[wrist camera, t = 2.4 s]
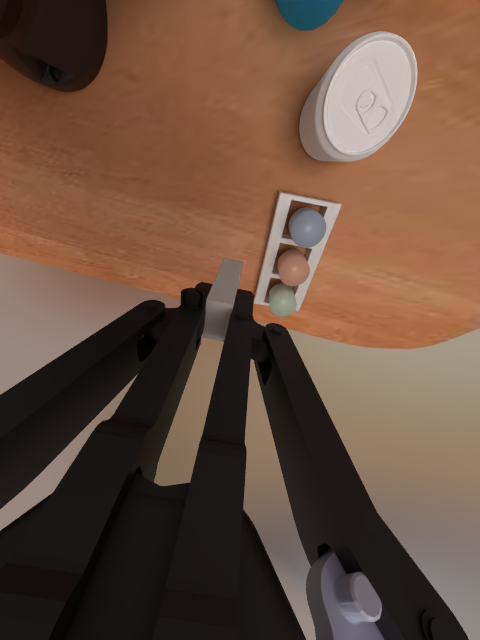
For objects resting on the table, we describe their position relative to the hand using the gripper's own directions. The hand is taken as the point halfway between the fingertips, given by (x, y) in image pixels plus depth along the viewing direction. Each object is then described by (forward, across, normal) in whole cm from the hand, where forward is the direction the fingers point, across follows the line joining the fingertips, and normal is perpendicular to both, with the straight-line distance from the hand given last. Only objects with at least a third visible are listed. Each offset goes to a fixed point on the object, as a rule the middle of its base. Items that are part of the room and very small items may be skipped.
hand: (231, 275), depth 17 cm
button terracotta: (+19, +8, -4) cm, 21 cm away
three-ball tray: (+22, +8, -4) cm, 24 cm away
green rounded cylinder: (+19, +9, -10) cm, 23 cm away
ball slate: (+19, +8, +2) cm, 21 cm away
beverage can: (+22, +8, +14) cm, 27 cm away
